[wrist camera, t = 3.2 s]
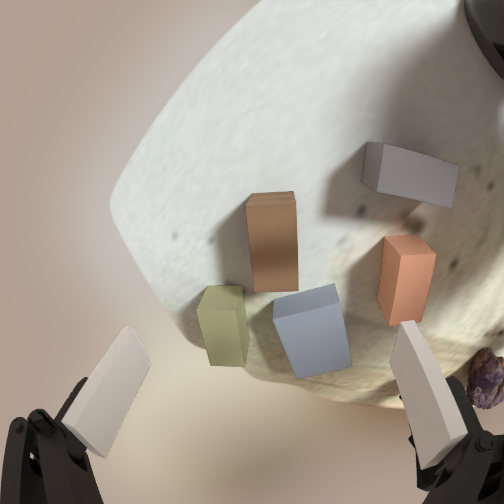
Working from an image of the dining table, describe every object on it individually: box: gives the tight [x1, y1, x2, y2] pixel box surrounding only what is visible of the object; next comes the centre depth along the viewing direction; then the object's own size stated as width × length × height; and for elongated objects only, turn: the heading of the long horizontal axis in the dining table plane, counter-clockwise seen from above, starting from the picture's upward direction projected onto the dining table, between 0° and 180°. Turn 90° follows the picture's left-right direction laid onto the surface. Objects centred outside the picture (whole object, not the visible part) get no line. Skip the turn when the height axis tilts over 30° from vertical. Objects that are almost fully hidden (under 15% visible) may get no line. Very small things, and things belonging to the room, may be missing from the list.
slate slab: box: [272, 283, 352, 379], centre depth 30 cm, size 10×7×4 cm
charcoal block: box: [361, 142, 460, 208], centre depth 21 cm, size 8×4×5 cm, turn 85°
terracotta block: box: [377, 235, 436, 326], centre depth 26 cm, size 8×4×5 cm, turn 5°
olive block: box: [196, 285, 250, 367], centre depth 30 cm, size 8×4×5 cm, turn 5°
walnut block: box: [245, 191, 299, 292], centre depth 25 cm, size 8×4×5 cm, turn 5°
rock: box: [466, 348, 504, 409], centre depth 29 cm, size 12×9×10 cm
